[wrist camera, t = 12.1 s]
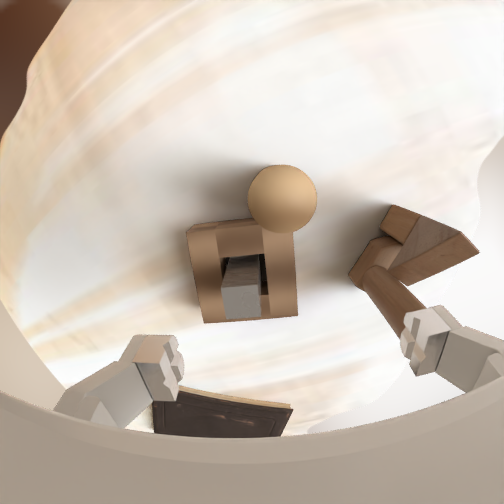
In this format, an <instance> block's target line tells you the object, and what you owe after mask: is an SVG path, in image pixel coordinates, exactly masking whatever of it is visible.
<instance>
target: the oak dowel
mask: <svg viewBox="0 0 504 504" xmlns="http://www.w3.org/2000/svg"><path fill="white" fill-rule="evenodd" d="M316 205H317V193H316V189H315V186H314V184H313V182H312V181H311V179H310V178H309V177H308V176H307V175H306V174H305V173H304V172H303V171H301V170H300V169H298V168H296V167H293V166H289V165H274V166H269V167H267V168H265V169H263V170H262V171H260V172H259V173H258V175H257V176H256V177H255V179H254V180H253V182H252V183H251V185H250V188H249V191H248V207H249V210H250V213H251V215H252V217H253V218H254V220H255V221H256V222H257V223H258V224H259V225H260V226H261V227H263V228H264V229H266V230H268V231H271V232H274V233H291V232H294V231H297V230H299V229H300V228H302V227H303V226H305V225H306V224H307V223H308V222H309V220H310V219H311V218H312V216H313V214H314V212H315V209H316Z"/></svg>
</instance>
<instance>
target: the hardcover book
mask: <svg viewBox="0 0 504 504" xmlns="http://www.w3.org/2000/svg"><path fill="white" fill-rule="evenodd" d="M152 410H153V424H154V433H156V434H165V435H174V436H186V437H201V438H266V437H280V436H281V434H282V432H283V430H284V428H285V426H286V424H287V422H288V420H289V418H290V416H291V414H292V412H293V409H291V408H290V404H285V403H275V402H267V401H259V400H252V399H245V398H239V397H233V396H227V395H221V394H216V393H211V392H206V391H201V390H196V389H192V388H188V387H183V386H179V391H178V394H177V398H176V401H155V400H153V402H152Z"/></svg>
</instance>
